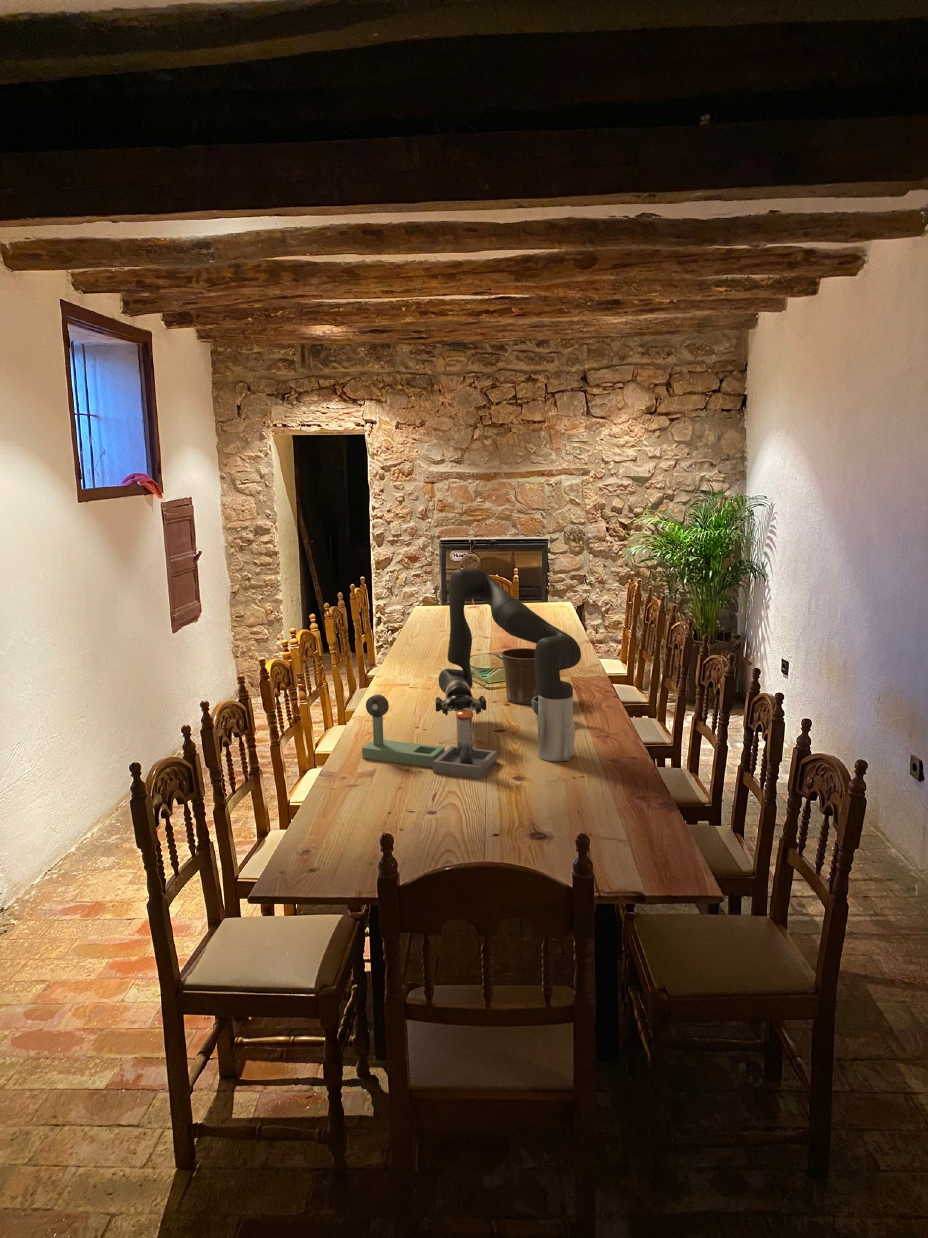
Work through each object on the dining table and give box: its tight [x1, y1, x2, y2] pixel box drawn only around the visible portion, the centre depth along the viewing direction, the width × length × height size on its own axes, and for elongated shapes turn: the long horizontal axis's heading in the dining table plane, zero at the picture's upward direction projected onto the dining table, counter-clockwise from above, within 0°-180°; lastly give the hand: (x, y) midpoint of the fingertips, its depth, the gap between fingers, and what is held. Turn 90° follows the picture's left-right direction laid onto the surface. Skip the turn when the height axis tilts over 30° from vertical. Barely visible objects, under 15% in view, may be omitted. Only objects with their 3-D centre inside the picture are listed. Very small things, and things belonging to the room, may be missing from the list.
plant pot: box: [500, 647, 539, 705], centre depth 284 cm, size 16×16×16 cm
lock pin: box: [455, 710, 474, 765], centre depth 222 cm, size 5×5×14 cm
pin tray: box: [432, 745, 498, 780], centre depth 223 cm, size 13×13×3 cm
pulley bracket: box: [361, 693, 446, 768], centre depth 230 cm, size 21×8×17 cm, turn 69°
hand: (462, 711), depth 232 cm, fingers open, 8 cm apart
